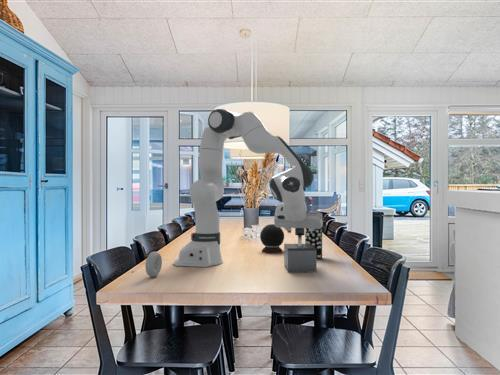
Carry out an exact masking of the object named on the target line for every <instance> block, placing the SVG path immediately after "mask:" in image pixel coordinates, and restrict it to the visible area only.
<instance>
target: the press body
mask: <svg viewBox="0 0 500 375" xmlns="http://www.w3.org/2000/svg"><path fill="white" fill-rule="evenodd" d="M283 248H284V250H283V256H284V258H283V260H284V261H283V264H284V265H283V266H284V268H285V270H286V272H287V273H317V266H318V265H317V261H318V260H317V248H316V247H314V246H313V245H312V244H305V243H302V247H298V243H284V244H283Z"/></svg>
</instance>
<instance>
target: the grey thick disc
mask: <svg viewBox="0 0 500 375" xmlns="http://www.w3.org/2000/svg"><path fill="white" fill-rule="evenodd" d="M144 266H145V268H144V269H145V272H146V274H147V276H149V277H150V278H156V277H157V276H158V275H159V274H160V272H161V271H162V270H161V269H162V266H163V259H162V255H161V254H160V253H159V252H158V251H151V252H150V253H149V254H148V255H147V258H146V260H145V265H144Z"/></svg>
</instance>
